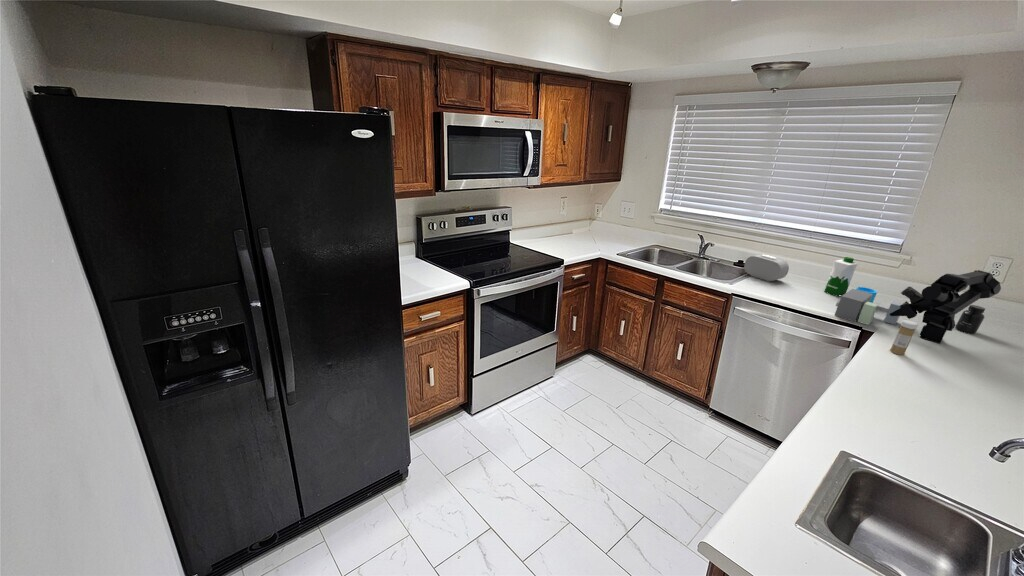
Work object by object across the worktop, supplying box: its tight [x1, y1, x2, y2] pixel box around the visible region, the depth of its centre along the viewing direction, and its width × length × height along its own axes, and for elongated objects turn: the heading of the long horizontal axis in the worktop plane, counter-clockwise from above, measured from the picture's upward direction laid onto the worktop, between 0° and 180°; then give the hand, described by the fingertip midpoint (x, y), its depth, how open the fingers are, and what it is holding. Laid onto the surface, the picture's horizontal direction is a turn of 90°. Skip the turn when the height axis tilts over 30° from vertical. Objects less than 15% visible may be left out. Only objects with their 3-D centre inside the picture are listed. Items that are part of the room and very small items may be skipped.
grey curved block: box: [834, 288, 873, 323], centre depth 197 cm, size 8×18×10 cm, turn 128°
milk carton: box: [823, 256, 858, 297], centre depth 222 cm, size 9×9×20 cm
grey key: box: [876, 301, 903, 325], centre depth 195 cm, size 16×5×9 cm, turn 38°
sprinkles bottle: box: [889, 319, 919, 356], centre depth 161 cm, size 5×5×14 cm
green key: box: [835, 300, 879, 326], centre depth 192 cm, size 14×5×9 cm, turn 38°
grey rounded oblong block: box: [743, 254, 790, 282], centre depth 243 cm, size 21×10×13 cm, turn 32°
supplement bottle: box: [954, 304, 986, 335], centre depth 184 cm, size 7×7×12 cm
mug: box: [856, 286, 878, 303], centre depth 211 cm, size 12×8×8 cm
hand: (890, 314), depth 183 cm, fingers closed
